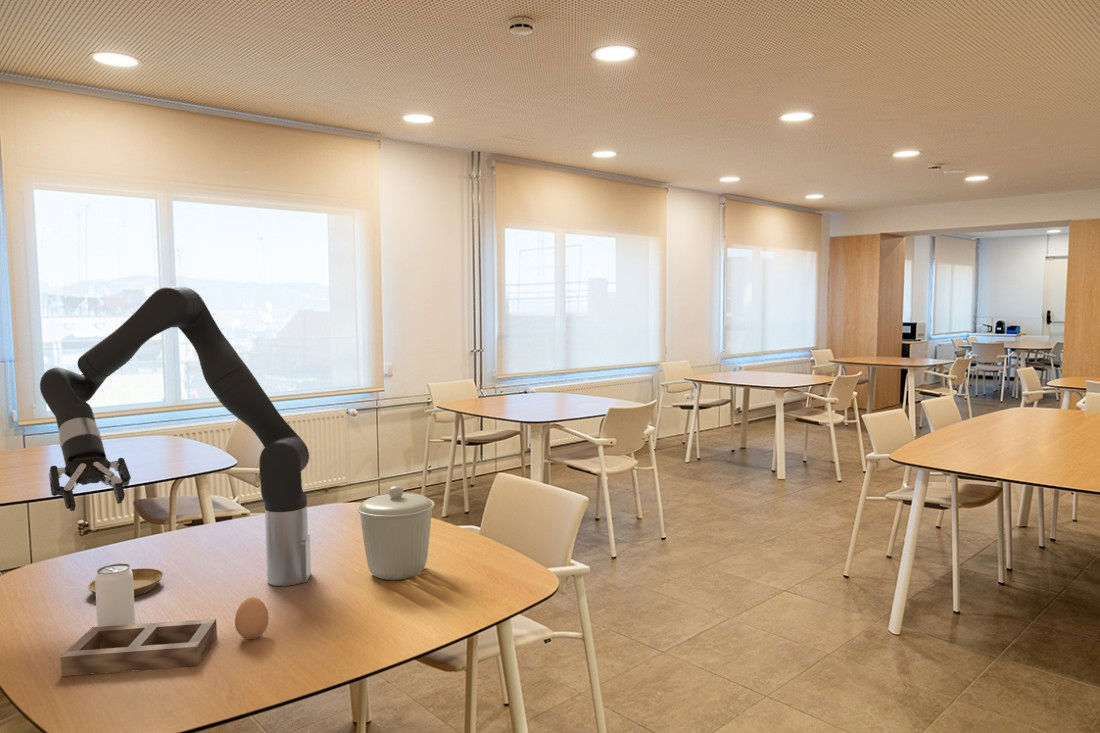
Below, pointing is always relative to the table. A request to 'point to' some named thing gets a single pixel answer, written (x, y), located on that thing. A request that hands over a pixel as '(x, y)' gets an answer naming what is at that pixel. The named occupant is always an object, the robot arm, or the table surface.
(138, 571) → the plant saucer
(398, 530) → the canister
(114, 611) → the can
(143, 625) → the rack
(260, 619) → the egg
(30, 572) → the table surface
